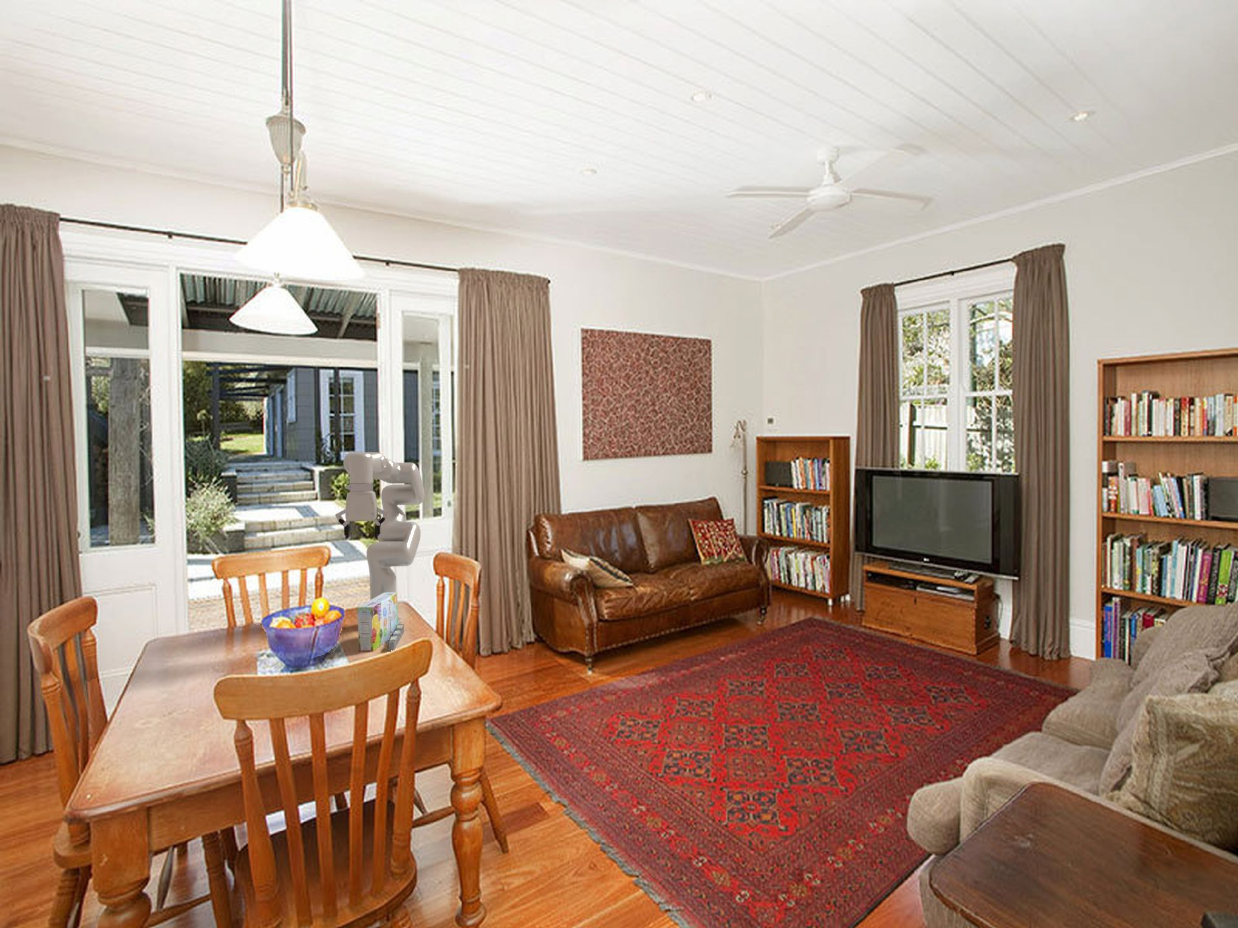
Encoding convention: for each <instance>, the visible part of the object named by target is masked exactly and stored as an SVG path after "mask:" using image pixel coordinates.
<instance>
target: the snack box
mask: <svg viewBox="0 0 1238 928" xmlns="http://www.w3.org/2000/svg"><path fill="white" fill-rule="evenodd" d="M398 611H399V610H398V593H397V591H396V592H385V593H382V594H381V595H379V596H377V597H375V598H373V599H372V600H370V599H369V600H368V601H366V602H365V603H363V604H361V605H359V606H357V608H356V612H357V632H358V634H357V635H358V652H375V651H376V650H377V649H378V648H379V647H380V646H382V645H384V644H386V642H387V641H390V638H391V637H392V636H393V635H394V634H393V633H394V632H395V631H396V629H397V626H398V625H399V624H398V617H399V614H398V613H399V612H398Z"/></svg>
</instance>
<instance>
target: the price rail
mask: <svg viewBox="0 0 1238 928" xmlns="http://www.w3.org/2000/svg"><path fill="white" fill-rule="evenodd" d="M404 633H405V624H404V623H400V624H398V626H397V629H396V631H395V632H394V633H393V634H394V635H393V636H392V637H391V638H390V639H389V640H388V641H389V642H388V651H389V652H392V651H391V650H394V649H396V648H397V646H398V644H399V642H400V640H401V639H402V637H403V635H404ZM394 651H395V650H394Z"/></svg>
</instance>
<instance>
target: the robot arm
mask: <svg viewBox="0 0 1238 928" xmlns="http://www.w3.org/2000/svg"><path fill="white" fill-rule="evenodd" d="M343 468H344V470H345V471H346V472H347V473H348V474H349V484H347V485H345V486H344V488H345V490H348V491H349V492H347V493H346V499H345V509H343V510H341V511H339V512H338V513H337V512H336V513H335V518H336V519H337V521H338V523H340V524H341V525H342V527H343V534H344V536H345V538H346V539H348V538H350V537H351V527H350V523H351V522H371V521H372V522H373V523H374V524H375V526H374V537H375V538H377V541H375V542H373V543H370V544H369V545H368V546H367V549H366V561H367V565H368V570H369V571H368V573H369V601H370V600H372V599H373V598H375V597H377V596H379V595H381V594H382V593H385V592H396V593H397V576H396V573H395V572H394V571H393V569H392V568H393V567H408V566H410V565H412V564H413V562H414V561H415V557H416V554H417V551H418V547H419V544H420V541H421V533H422V532H421V528H420V525H419V523H416V522H414V521H407V517H406V516H407V515H406V514H405V513H404V511H403V510H402V509H401V508H400V507H399V506H415V505H420V504H421V505H422V503H423V502H424V500H425V498H426V496H425V492H426V491H425V487H424V485H423V481H422V480H423V479H422V476H421V473H420V470H419V468H418V465H416V464H415V463H414V462H394V461H392V460H391V459H388V458H386V456H385V455H384V454H383V453H381V452H377V451H376V452H373V451H372V452H371V451H370V452H369V451H363V452H362V451H361V452H360V451H357V452H355V451H354V452H349V453H347V454H346V455H345V456H344V458H343ZM374 480H380V481H382V482H385V483H387V484H388V485H386V486H384V487H383V488H382V490H381V494H380V498H381V505H382V506H381V507H382V509H381V508H379V507H378V500H377V495H376V492H375V491H374ZM379 514H381V515H382V517H381V518H380V519H379V518H378V517H379ZM342 515H345V520H344V519H343V518H342ZM391 567H392V568H391ZM399 624H402V619H401V618H400V617H399V616H398V625H399Z"/></svg>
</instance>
